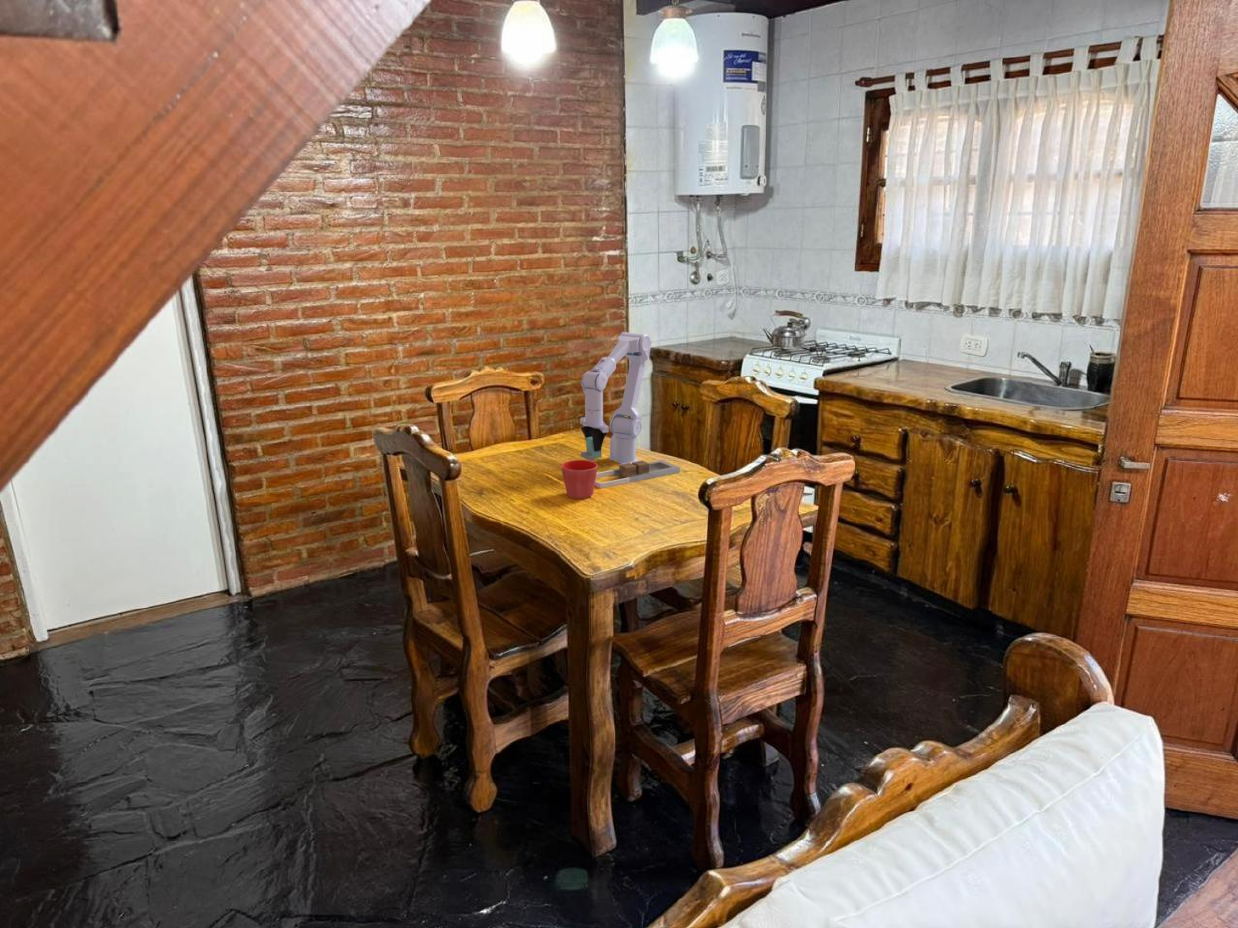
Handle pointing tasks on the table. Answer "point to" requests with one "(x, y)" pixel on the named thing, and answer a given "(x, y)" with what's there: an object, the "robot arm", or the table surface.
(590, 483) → the flower pot
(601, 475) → the tray
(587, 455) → the teal block
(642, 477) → the slot block
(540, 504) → the table surface
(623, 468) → the brown boxy piece
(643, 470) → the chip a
